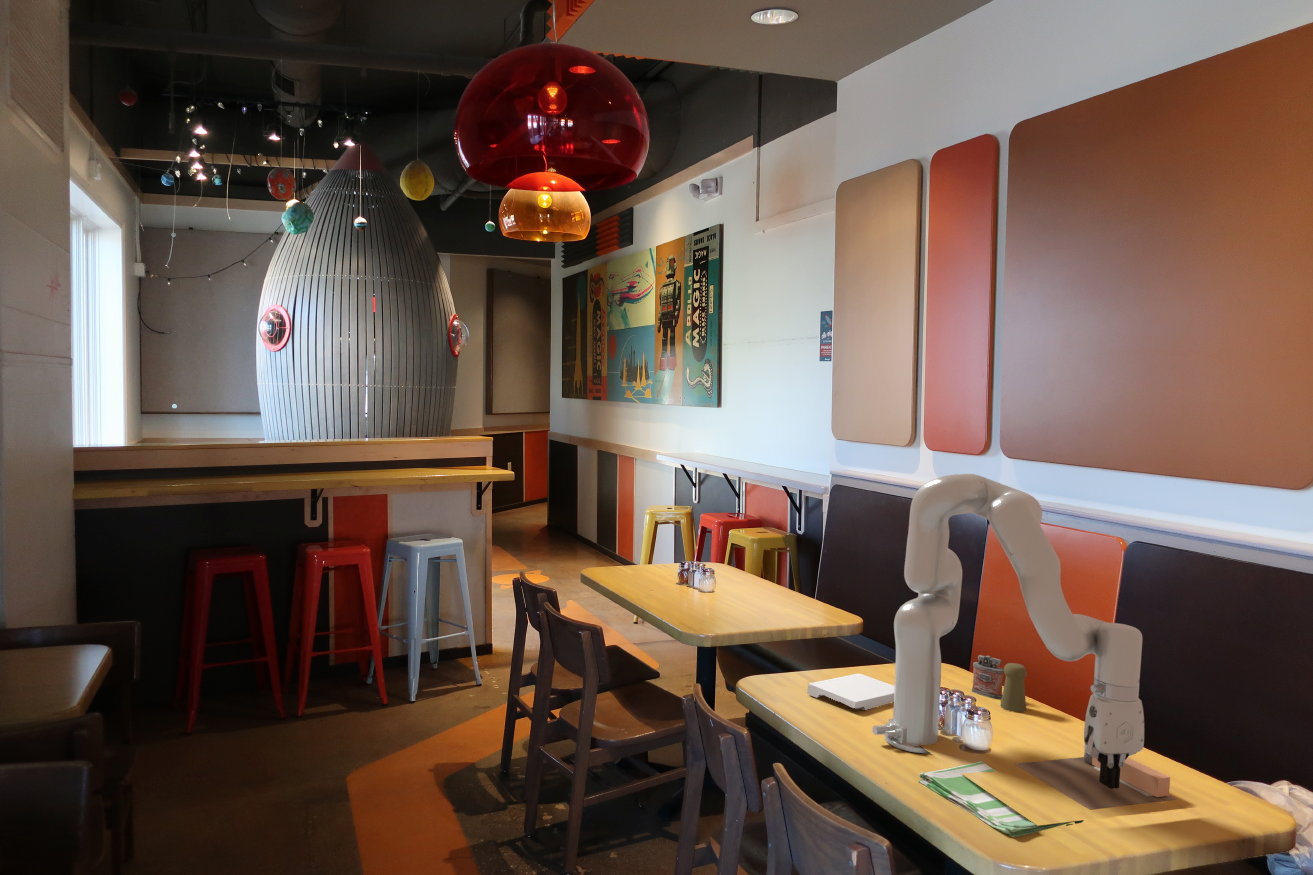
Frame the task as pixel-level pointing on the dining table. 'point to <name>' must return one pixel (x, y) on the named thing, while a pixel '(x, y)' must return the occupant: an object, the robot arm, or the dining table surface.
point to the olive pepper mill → (1014, 688)
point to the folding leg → (1139, 776)
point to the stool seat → (1087, 784)
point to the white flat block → (854, 691)
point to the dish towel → (980, 800)
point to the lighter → (988, 677)
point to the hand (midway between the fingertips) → (1109, 785)
